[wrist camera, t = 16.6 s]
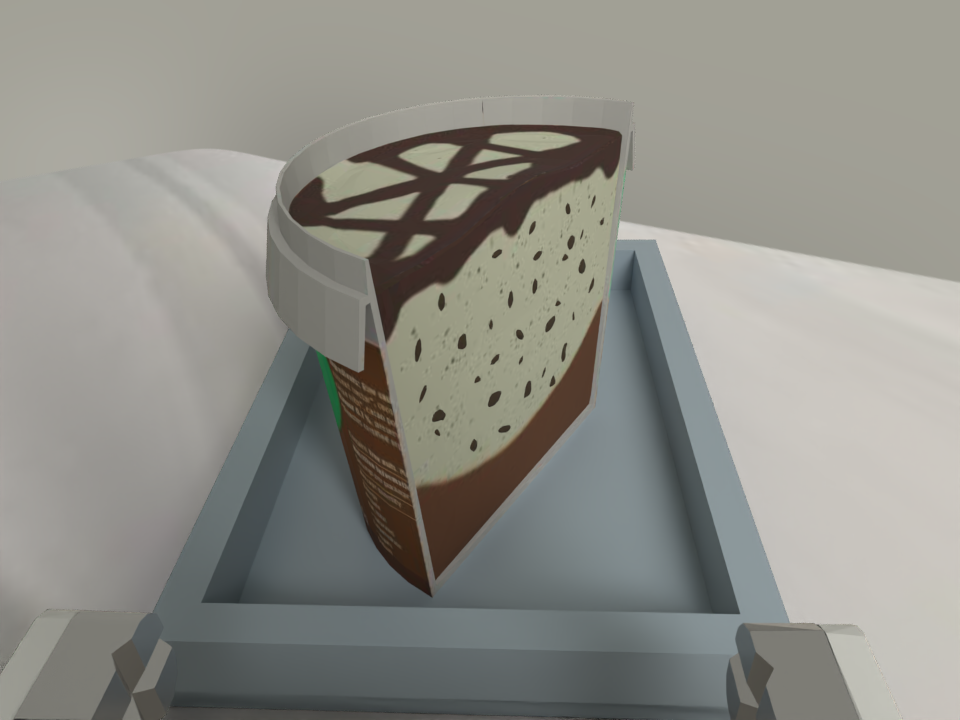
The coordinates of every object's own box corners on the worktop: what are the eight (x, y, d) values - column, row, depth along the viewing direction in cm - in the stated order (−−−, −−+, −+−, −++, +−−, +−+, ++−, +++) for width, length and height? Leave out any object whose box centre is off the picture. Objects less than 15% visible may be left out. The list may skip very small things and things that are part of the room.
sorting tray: (168, 705, 18) (138, 640, 16) (338, 290, 34) (331, 240, 33) (777, 723, 17) (801, 656, 15) (649, 291, 33) (655, 239, 32)
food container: (470, 336, 29) (461, 71, 24) (613, 385, 27) (642, 96, 21) (224, 537, 21) (120, 200, 15) (395, 640, 18) (344, 272, 13)
